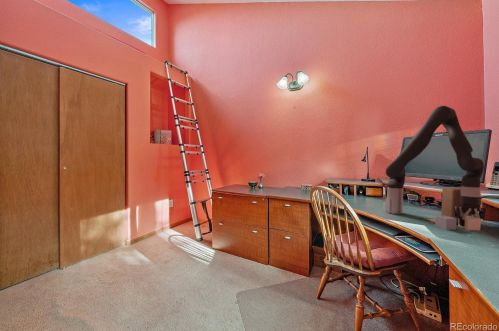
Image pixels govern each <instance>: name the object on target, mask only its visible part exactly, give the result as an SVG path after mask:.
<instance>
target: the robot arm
mask: <svg viewBox="0 0 499 331" xmlns="http://www.w3.org/2000/svg"><path fill="white" fill-rule="evenodd" d="M456 112H457V111H456V110H455V109H453V108H451V107H449V106H447V105H440V106H437V107H436V108H435V109H434V110H432V111H431V114H430V115H428V118H427V119H426V121H425V122H424V124H423V125H422V126H421V128H420V129H419V130H418V131H416V133H415V135H414V136H413V137H412V138H411V139H410V140H409V142H407V144H406V145H405V146H404V148H403V149H402V150H401V152H400V153H399V155H397V157H396V158H395V159H394V160H393V161H392V162H391V163H390V164H389V165H388V166H386V168H385V175H386V176H387V177H388V178H389V181H388V182H387V184H386V185H387V186H386V197H385V210H384V211H385V212H386V213H388V214H394V215H402V214H403V213H404V185H405V183H406V169H405V167H406V166H407V165H408V164H409V163H410V162H411V161H412V160H414V159H415V158H417V157H418V156H419V155H421V154H422V152H424V150H426V148H427V147H428V146H429V145H430V142H431V141H432V137H433V135H434V133H435V132H436V130H437V129H438V128H439V127H440V126H441V125H442V126H443V127H444V129H445V130H446V132H447V135H448V140H449V142H450V143H449V144H450V145H451V148H452V149H453V151H454V153H455V154H456V155H455V156H456V161H457V164H458V167H459V169H461V170H463V171H464V172H466V173H465V175H463V176H462V177H461V195H460V203H461V205H460V206H459V207H456V206H454V213H455V217H457V218H459V224H460V226H464V225H465V220H464V219H465V217H466V216H467V215H468V214H472V216H473V217H476V218H479V219H481V220H484V219H485V218H486V217H485V216H486V212H487V208H486V207H484V206H483V207H482V206H480V205H481V178H482V176H483V173H484V169H485V164H484V161H483V160H482V159H481V158H478V157H473V155H472V152H473V151H474V149H473V147H472V145H471V143H470V142H469V140H468V138H467V136H466V134H465V133H464V131H463V129H462V127H461V124H460V121H459V119H458V116H457V113H456ZM460 210H461V212H460Z"/></svg>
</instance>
